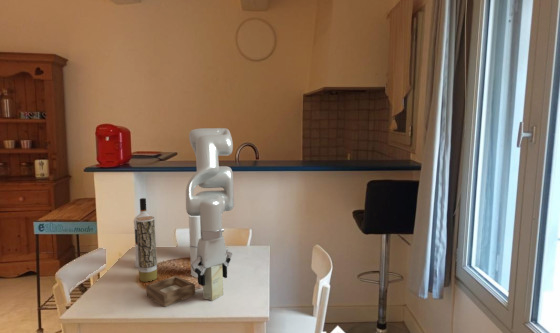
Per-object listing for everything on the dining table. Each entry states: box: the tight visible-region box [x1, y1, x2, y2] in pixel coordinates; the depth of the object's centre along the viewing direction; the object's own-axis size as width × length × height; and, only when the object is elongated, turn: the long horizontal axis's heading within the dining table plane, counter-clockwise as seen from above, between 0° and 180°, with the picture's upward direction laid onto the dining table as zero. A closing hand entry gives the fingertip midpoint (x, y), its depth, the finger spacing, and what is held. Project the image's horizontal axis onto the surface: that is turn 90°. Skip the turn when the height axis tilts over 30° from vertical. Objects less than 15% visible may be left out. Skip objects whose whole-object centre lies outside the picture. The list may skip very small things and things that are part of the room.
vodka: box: [133, 197, 158, 269], centre depth 173 cm, size 9×9×30 cm
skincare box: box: [202, 264, 224, 301], centre depth 142 cm, size 6×4×12 cm
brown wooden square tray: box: [145, 275, 196, 308], centre depth 144 cm, size 12×12×4 cm
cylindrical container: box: [188, 215, 202, 278], centre depth 162 cm, size 7×7×25 cm
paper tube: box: [136, 215, 158, 283], centre depth 158 cm, size 7×7×25 cm
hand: (213, 280), depth 142 cm, fingers open, 9 cm apart
